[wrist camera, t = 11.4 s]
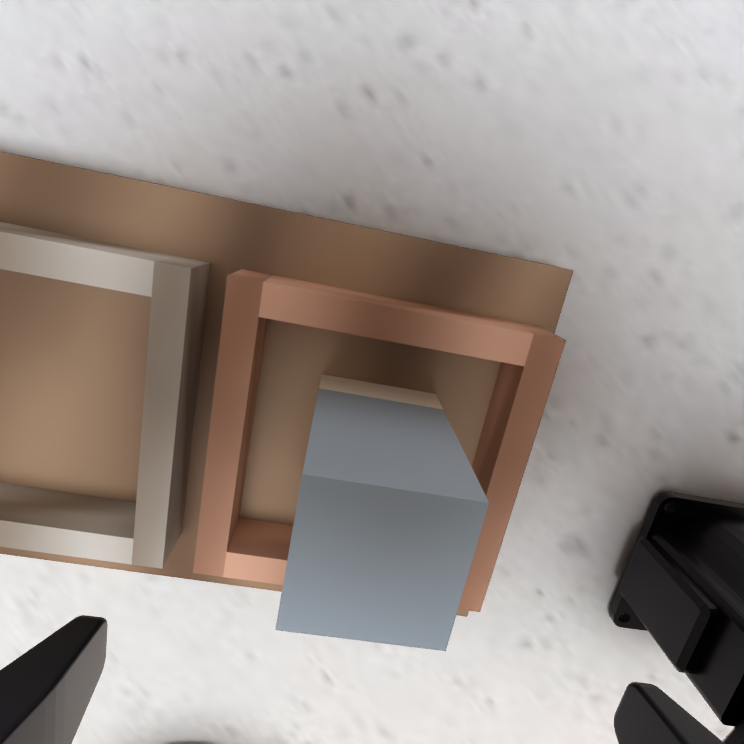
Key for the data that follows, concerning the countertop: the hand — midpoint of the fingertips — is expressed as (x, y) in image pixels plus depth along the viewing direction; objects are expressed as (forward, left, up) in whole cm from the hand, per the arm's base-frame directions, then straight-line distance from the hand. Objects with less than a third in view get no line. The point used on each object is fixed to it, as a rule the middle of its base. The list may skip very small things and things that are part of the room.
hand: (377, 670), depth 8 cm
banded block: (0, 0, -10) cm, 10 cm away
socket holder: (+5, 0, -11) cm, 12 cm away
